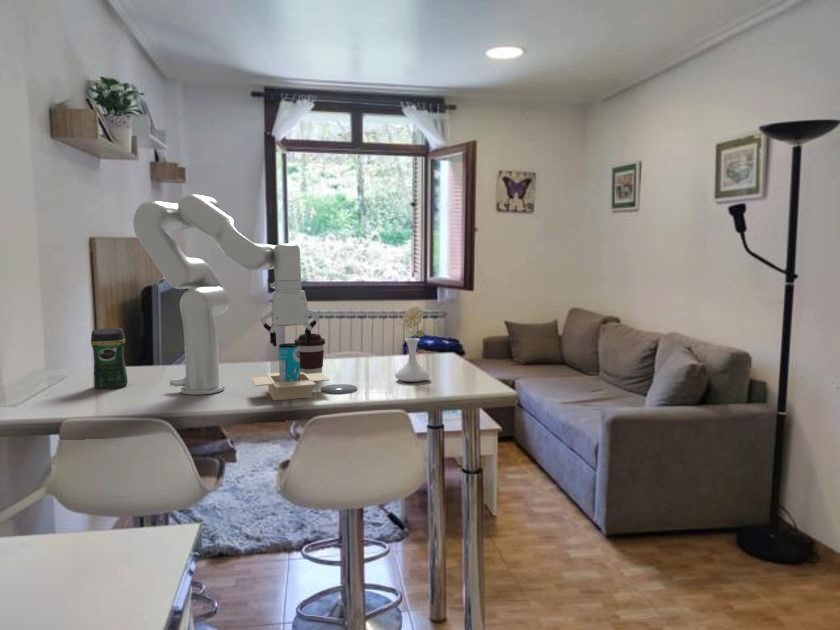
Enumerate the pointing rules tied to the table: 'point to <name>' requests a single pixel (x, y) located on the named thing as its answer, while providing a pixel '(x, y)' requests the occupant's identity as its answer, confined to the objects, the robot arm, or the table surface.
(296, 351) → the beverage can
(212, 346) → the robot arm
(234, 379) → the table surface
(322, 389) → the coaster
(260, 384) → the carton
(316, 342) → the coffee cup
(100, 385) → the coffee jar
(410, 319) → the flower in vase
